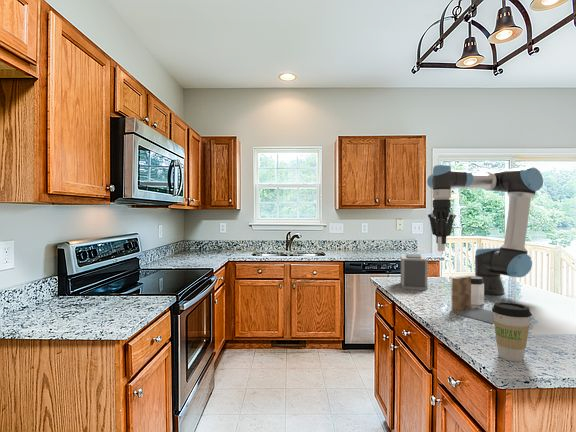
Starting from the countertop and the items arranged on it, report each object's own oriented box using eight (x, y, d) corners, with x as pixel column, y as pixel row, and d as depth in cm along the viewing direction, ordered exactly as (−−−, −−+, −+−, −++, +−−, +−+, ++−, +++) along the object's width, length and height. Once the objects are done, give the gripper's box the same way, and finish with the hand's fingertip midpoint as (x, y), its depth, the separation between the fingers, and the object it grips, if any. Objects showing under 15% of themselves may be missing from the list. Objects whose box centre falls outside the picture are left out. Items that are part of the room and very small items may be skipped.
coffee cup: (483, 351, 108) (484, 301, 107) (514, 350, 108) (515, 301, 108) (506, 365, 98) (507, 310, 98) (539, 363, 99) (540, 310, 98)
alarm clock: (400, 282, 211) (400, 251, 211) (424, 283, 208) (424, 252, 208) (401, 289, 194) (402, 255, 193) (427, 290, 190) (427, 256, 190)
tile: (465, 307, 157) (465, 275, 157) (470, 308, 155) (471, 276, 154) (451, 310, 152) (451, 277, 151) (456, 311, 149) (456, 278, 149)
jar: (476, 306, 158) (476, 279, 158) (459, 302, 165) (459, 276, 165) (487, 303, 163) (487, 277, 163) (469, 299, 170) (469, 274, 170)
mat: (476, 308, 155) (476, 307, 155) (515, 317, 142) (515, 316, 142) (453, 313, 147) (453, 312, 147) (492, 323, 134) (492, 323, 134)
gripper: (423, 199, 165) (423, 250, 165) (449, 198, 153) (449, 252, 154) (434, 199, 169) (433, 249, 169) (460, 198, 157) (459, 251, 158)
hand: (441, 250), depth 161 cm, fingers closed
